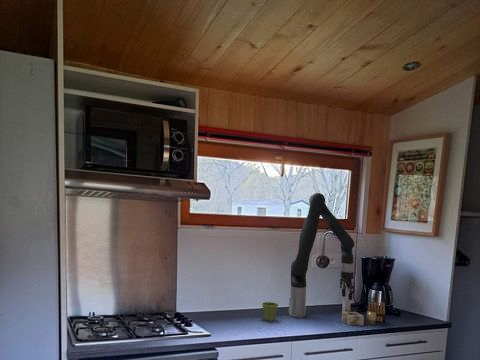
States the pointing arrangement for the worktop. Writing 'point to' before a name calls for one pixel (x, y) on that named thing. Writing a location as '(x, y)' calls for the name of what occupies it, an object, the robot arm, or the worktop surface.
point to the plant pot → (269, 310)
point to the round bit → (371, 318)
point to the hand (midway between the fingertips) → (347, 298)
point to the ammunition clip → (378, 312)
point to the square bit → (346, 305)
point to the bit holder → (352, 318)
